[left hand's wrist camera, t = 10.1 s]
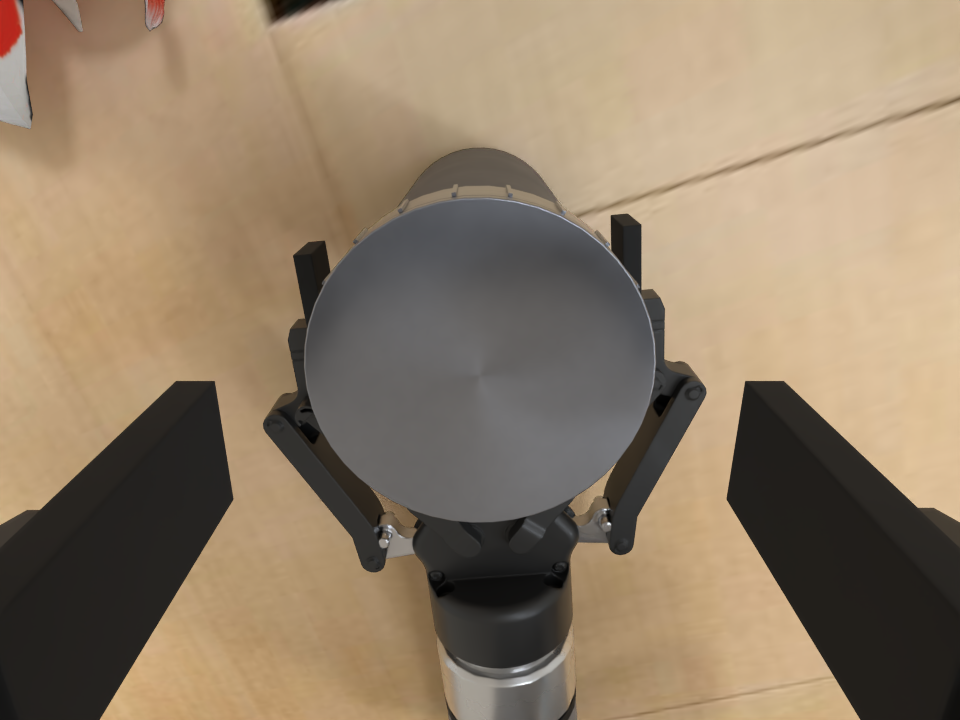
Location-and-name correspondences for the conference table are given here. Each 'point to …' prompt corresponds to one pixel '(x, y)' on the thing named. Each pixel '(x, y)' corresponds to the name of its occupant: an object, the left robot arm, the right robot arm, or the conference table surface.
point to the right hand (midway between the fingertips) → (466, 232)
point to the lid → (479, 355)
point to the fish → (4, 54)
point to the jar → (479, 174)
